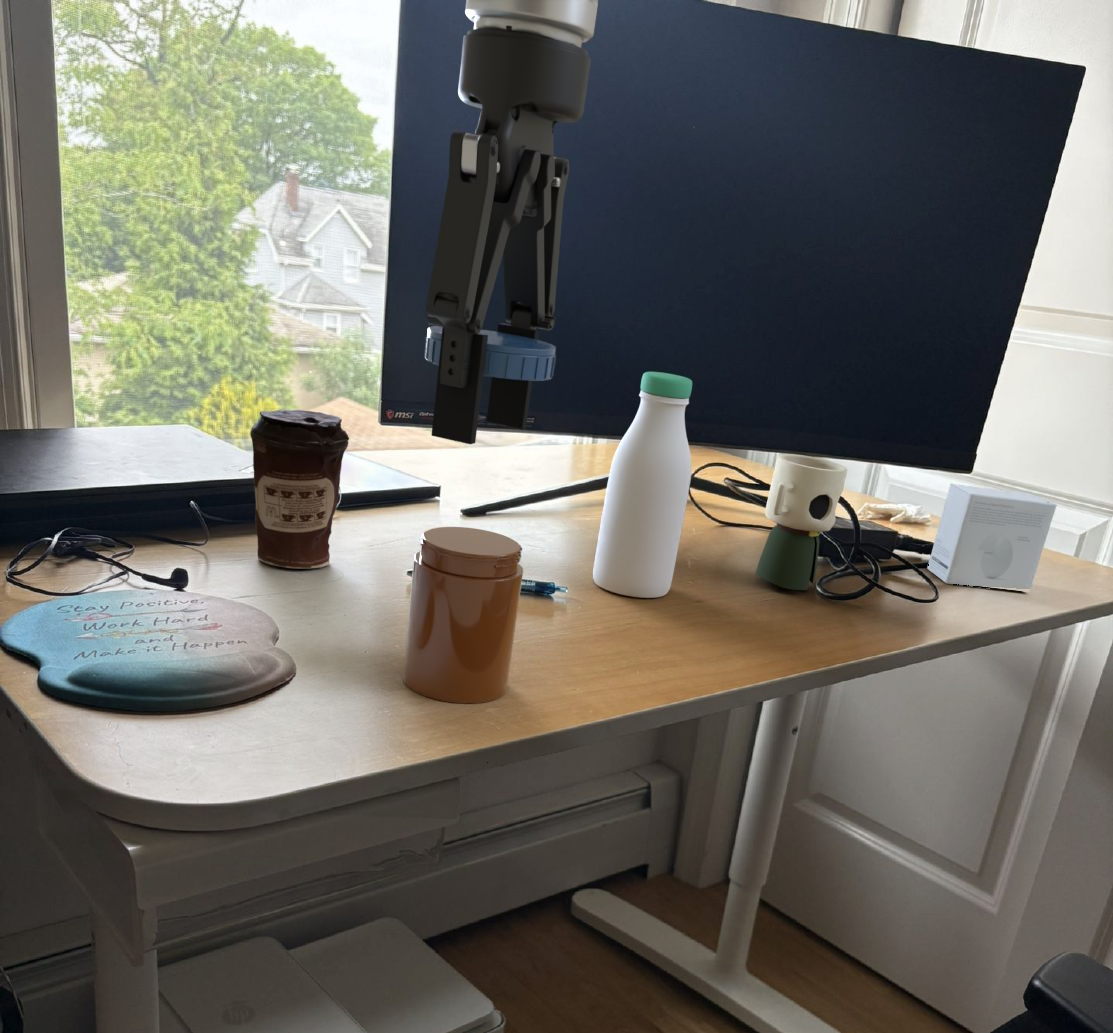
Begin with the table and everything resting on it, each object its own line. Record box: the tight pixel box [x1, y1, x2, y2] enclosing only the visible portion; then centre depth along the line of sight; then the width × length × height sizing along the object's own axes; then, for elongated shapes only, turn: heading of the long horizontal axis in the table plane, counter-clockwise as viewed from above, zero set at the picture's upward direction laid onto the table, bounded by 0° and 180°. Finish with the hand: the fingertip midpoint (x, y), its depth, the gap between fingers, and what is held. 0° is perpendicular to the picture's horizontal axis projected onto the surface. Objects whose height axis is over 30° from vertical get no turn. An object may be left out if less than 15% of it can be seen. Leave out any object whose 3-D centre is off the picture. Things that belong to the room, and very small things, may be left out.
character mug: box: [754, 453, 848, 591], centre depth 117 cm, size 11×7×13 cm, turn 138°
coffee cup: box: [249, 409, 350, 570], centre depth 100 cm, size 9×8×13 cm
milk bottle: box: [592, 371, 693, 599], centre depth 107 cm, size 8×8×20 cm
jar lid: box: [423, 325, 557, 382], centre depth 73 cm, size 8×8×2 cm
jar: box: [402, 526, 524, 704], centre depth 80 cm, size 8×8×11 cm
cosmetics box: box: [927, 483, 1057, 590], centre depth 131 cm, size 10×6×10 cm, turn 94°
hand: (481, 431), depth 75 cm, fingers closed on jar lid, 8 cm apart
